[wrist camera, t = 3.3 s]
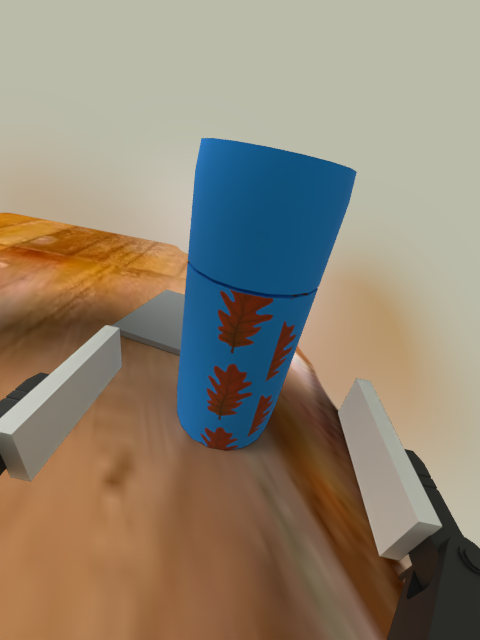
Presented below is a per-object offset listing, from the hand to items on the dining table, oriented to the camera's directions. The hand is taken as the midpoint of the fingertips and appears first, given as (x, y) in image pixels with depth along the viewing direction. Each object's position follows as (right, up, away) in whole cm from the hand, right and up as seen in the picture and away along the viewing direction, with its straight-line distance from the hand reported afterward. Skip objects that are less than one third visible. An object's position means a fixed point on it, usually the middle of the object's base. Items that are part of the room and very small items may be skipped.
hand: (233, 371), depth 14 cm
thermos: (-2, -7, +16) cm, 17 cm away
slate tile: (-9, +2, +29) cm, 31 cm away
